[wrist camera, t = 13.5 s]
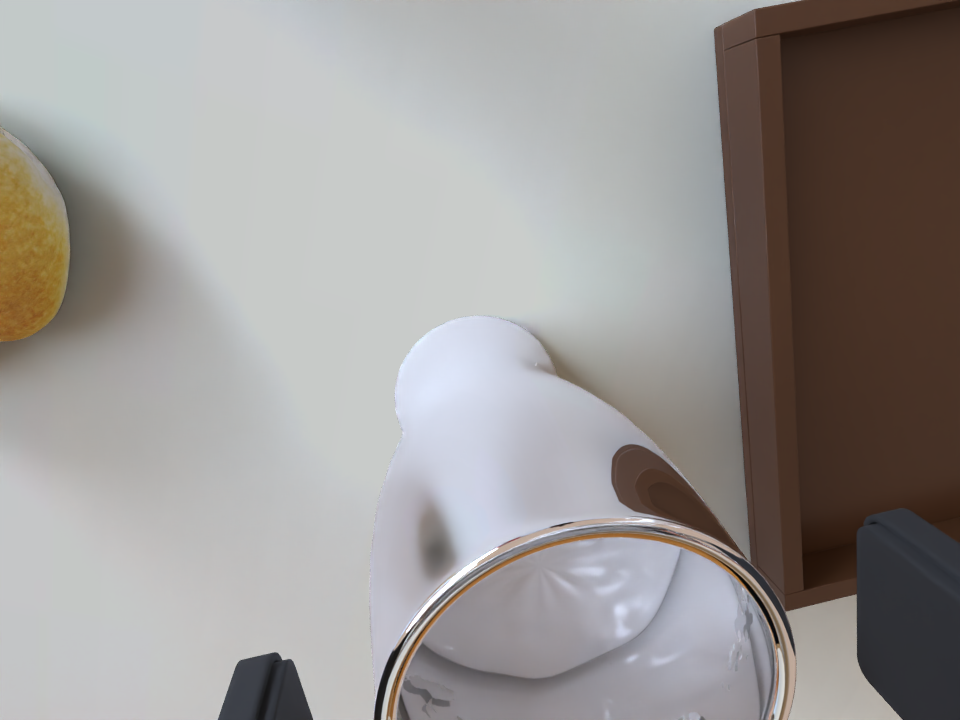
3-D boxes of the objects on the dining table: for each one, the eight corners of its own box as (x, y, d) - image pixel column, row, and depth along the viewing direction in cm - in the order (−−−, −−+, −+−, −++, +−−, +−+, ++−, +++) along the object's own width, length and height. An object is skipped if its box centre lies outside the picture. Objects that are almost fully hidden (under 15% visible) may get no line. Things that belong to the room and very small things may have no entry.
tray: (712, 28, 22) (754, 8, 19) (1136, -50, 23) (1228, -78, 20) (751, 573, 28) (785, 612, 25) (1081, 492, 29) (1146, 522, 26)
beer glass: (521, 502, 25) (681, 920, 11) (354, 444, 24) (289, 842, 10) (598, 343, 24) (894, 588, 10) (426, 272, 23) (474, 436, 8)
